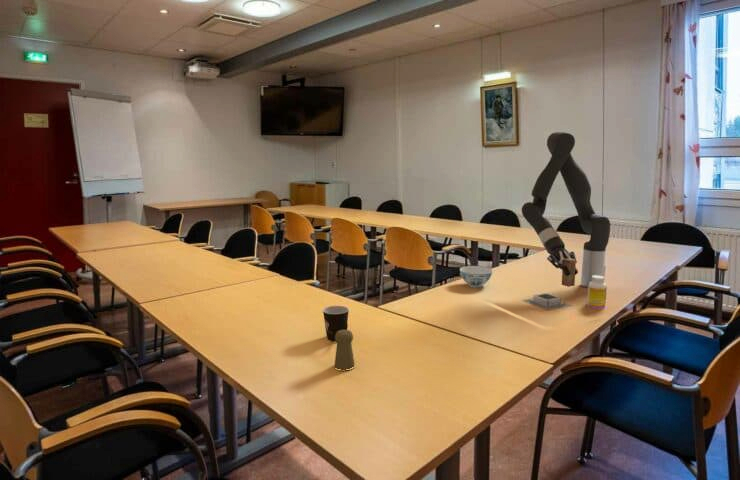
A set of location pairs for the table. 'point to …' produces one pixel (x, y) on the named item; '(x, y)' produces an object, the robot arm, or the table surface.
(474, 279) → the chinaware
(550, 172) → the robot arm
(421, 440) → the table surface
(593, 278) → the supplement bottle
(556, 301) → the open square frame
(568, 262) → the brown wooden block
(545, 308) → the coaster
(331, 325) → the coffee mug
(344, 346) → the cork
